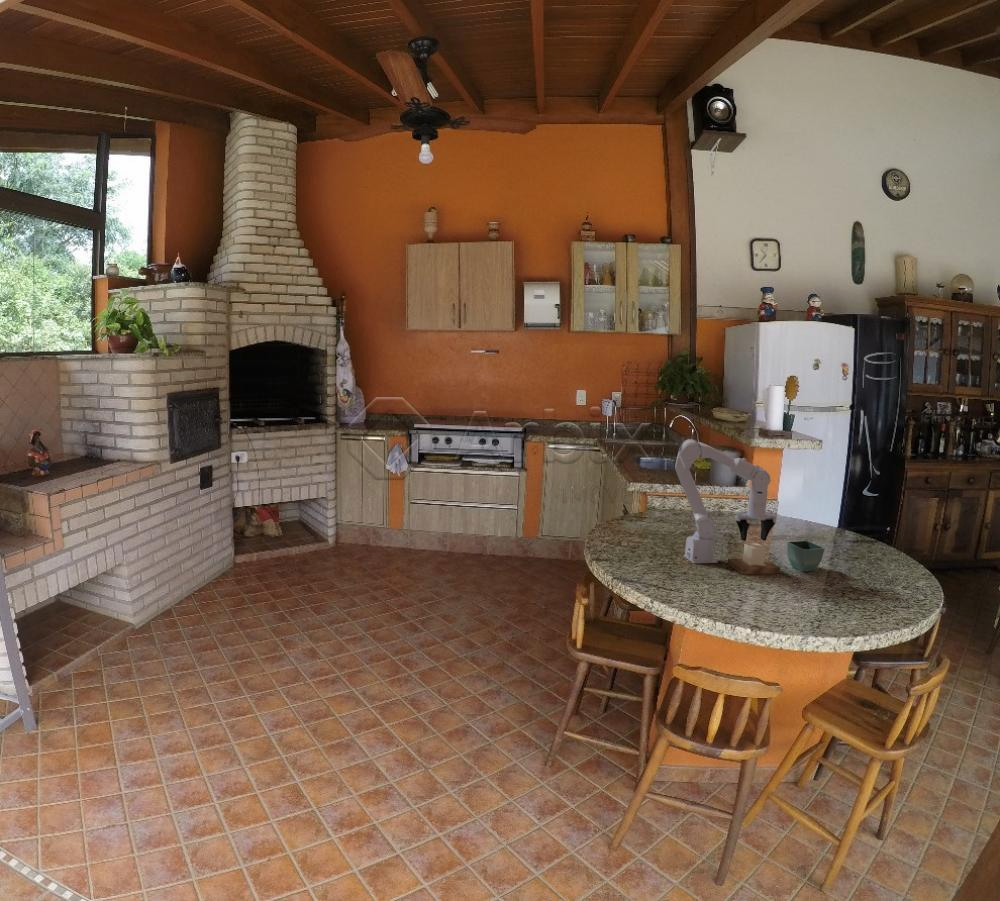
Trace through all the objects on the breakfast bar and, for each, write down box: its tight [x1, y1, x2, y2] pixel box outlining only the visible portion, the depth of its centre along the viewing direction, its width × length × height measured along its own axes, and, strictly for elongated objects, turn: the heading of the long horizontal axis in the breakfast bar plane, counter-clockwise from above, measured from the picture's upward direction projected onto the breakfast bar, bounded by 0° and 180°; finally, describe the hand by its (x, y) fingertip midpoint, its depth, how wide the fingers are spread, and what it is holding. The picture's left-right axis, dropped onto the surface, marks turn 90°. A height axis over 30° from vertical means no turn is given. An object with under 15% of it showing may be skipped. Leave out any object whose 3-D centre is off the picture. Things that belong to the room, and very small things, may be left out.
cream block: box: [742, 542, 767, 565], centre depth 220 cm, size 5×5×6 cm
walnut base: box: [726, 557, 781, 575], centre depth 221 cm, size 14×10×2 cm
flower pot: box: [786, 540, 826, 573], centre depth 222 cm, size 9×9×9 cm
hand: (753, 540), depth 223 cm, fingers open, 7 cm apart
